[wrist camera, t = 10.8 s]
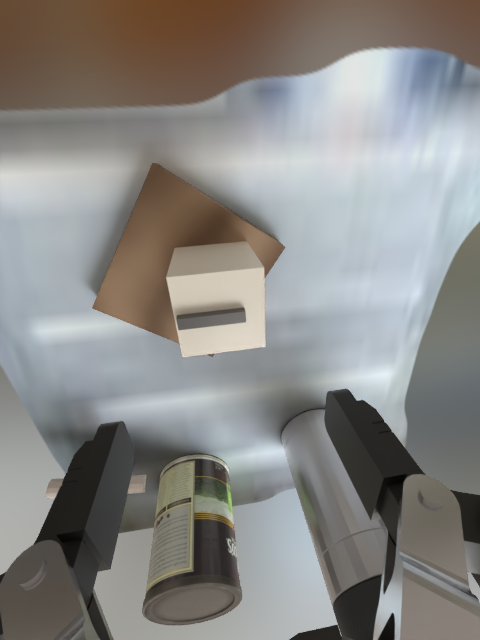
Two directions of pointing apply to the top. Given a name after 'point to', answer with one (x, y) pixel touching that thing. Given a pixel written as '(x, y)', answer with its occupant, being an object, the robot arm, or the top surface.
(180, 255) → the cream rectangular block
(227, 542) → the coffee can
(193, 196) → the board
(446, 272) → the top surface
